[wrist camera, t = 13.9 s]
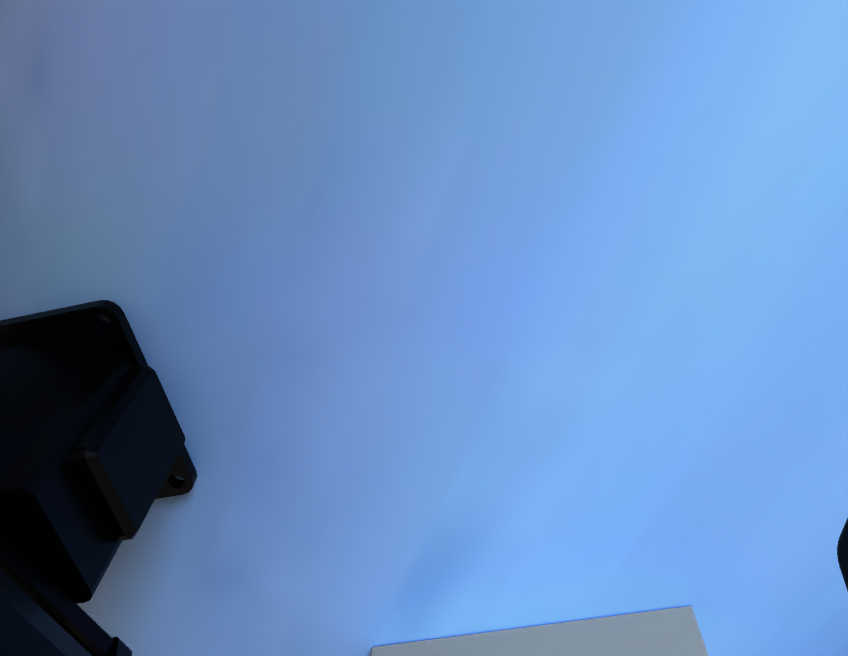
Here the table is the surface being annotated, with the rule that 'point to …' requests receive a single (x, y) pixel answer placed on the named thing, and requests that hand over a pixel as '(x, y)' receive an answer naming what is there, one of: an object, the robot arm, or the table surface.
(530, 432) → the table surface
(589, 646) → the socket block
